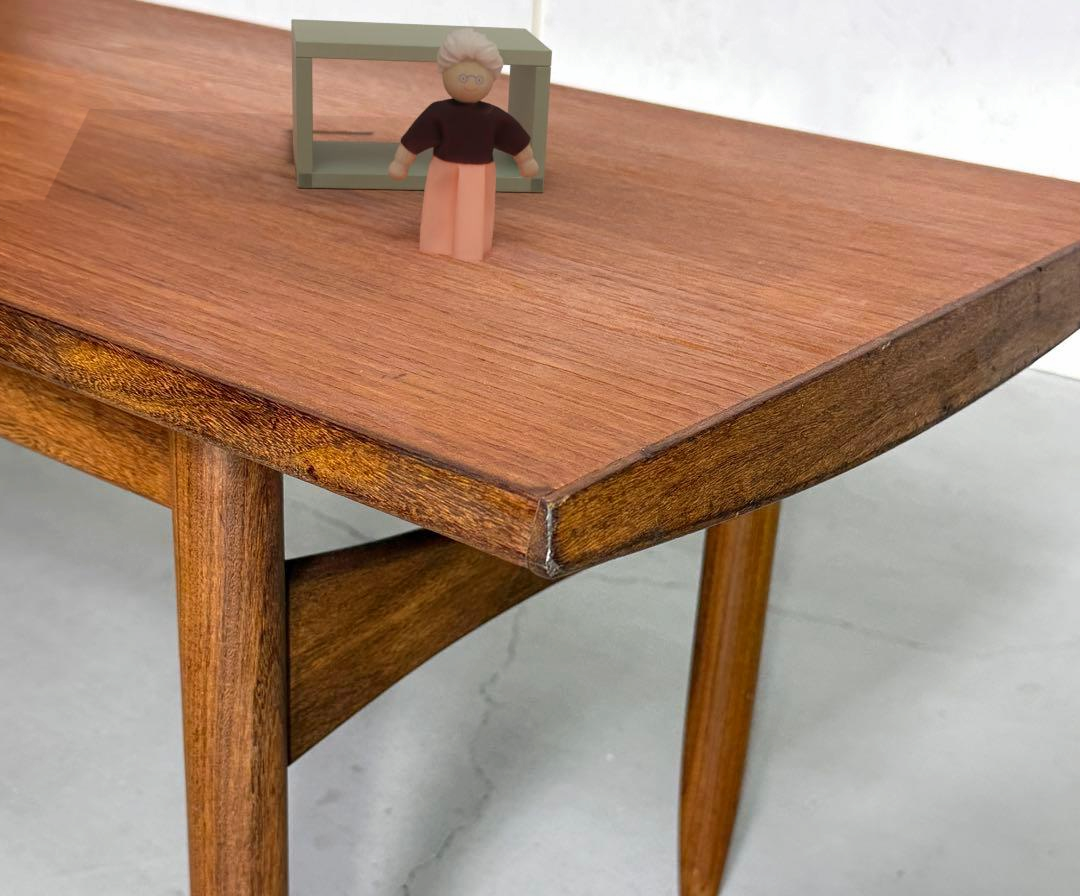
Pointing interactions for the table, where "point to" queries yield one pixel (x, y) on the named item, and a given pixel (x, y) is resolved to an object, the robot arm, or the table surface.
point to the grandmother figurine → (463, 149)
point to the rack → (413, 44)
